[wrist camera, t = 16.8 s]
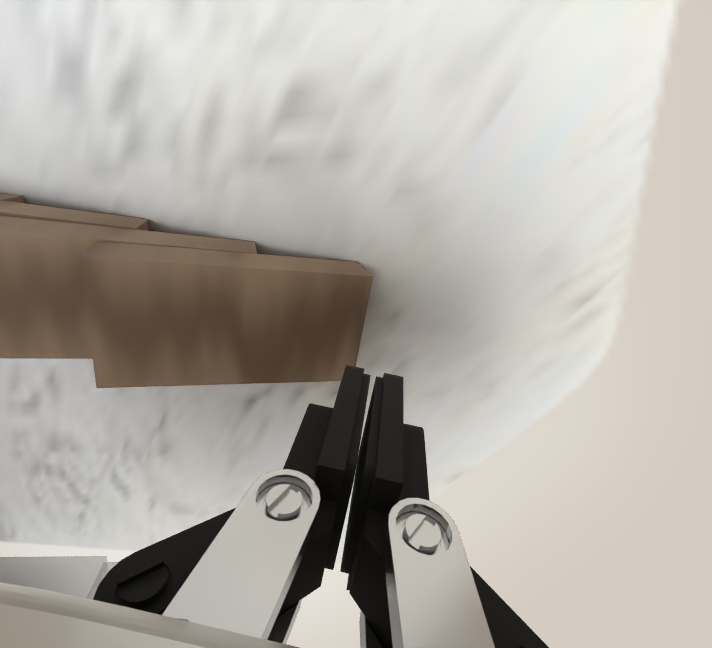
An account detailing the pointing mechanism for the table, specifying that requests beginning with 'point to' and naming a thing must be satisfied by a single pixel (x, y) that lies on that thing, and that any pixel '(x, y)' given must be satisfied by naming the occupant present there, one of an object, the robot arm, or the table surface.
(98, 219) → the tile
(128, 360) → the tile
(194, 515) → the table surface
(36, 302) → the tile
